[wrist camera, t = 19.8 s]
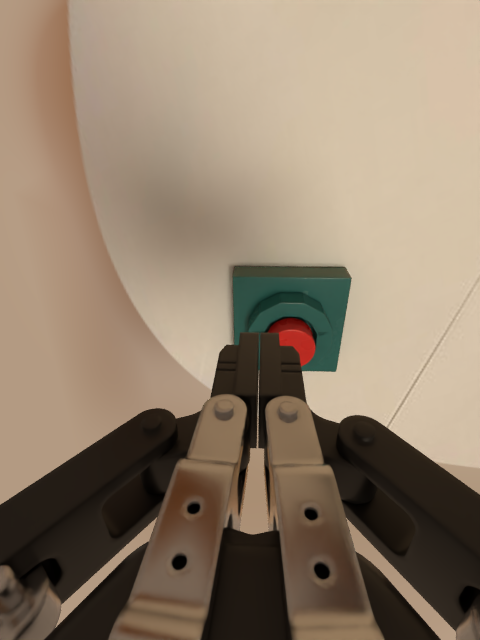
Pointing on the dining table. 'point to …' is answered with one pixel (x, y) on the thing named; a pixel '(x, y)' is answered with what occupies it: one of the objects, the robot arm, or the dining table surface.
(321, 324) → the button block
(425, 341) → the dining table surface
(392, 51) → the dining table surface
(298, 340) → the button
